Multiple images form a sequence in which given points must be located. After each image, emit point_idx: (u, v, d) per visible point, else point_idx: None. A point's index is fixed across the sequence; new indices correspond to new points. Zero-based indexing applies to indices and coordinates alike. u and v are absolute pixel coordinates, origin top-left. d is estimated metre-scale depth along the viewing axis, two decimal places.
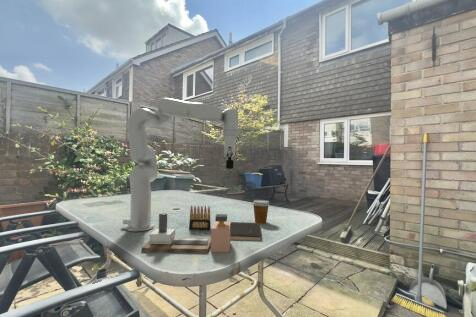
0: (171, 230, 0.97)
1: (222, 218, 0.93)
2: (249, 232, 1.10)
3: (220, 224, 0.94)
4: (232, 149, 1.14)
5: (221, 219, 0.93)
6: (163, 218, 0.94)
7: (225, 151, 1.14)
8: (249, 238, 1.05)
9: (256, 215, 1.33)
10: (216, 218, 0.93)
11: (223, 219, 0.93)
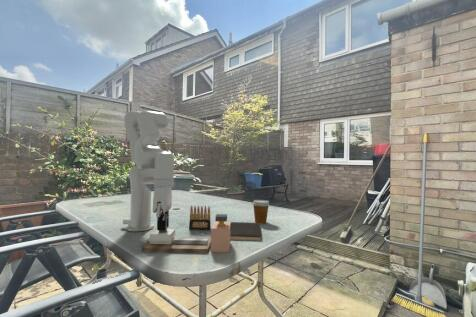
0: (171, 230, 0.97)
1: (222, 218, 0.93)
2: (249, 232, 1.10)
3: (220, 224, 0.94)
4: (162, 205, 0.91)
5: (221, 219, 0.93)
6: None
7: (153, 207, 0.91)
8: (249, 238, 1.05)
9: (256, 215, 1.33)
10: (216, 218, 0.93)
11: (223, 219, 0.93)
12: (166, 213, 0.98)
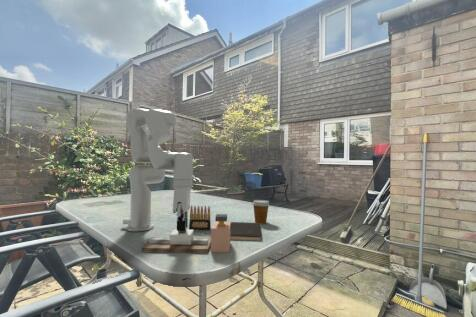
0: (190, 230, 0.97)
1: (222, 218, 0.93)
2: (250, 232, 1.10)
3: (220, 224, 0.94)
4: (182, 205, 0.90)
5: (221, 219, 0.93)
6: None
7: (174, 207, 0.91)
8: (249, 238, 1.05)
9: (256, 215, 1.33)
10: (216, 218, 0.93)
11: (223, 219, 0.93)
12: (185, 213, 0.98)
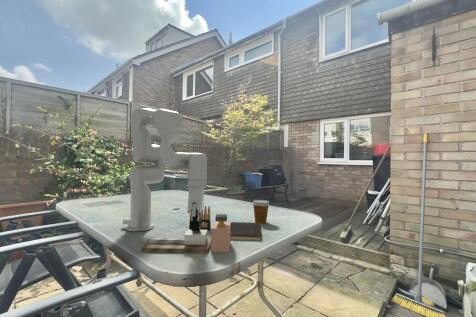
0: (204, 231, 0.97)
1: (222, 218, 0.93)
2: (250, 232, 1.10)
3: (220, 224, 0.94)
4: (197, 205, 0.90)
5: (221, 219, 0.93)
6: None
7: (188, 208, 0.91)
8: (249, 238, 1.05)
9: (256, 215, 1.33)
10: (216, 218, 0.93)
11: (223, 219, 0.93)
12: (198, 214, 0.98)
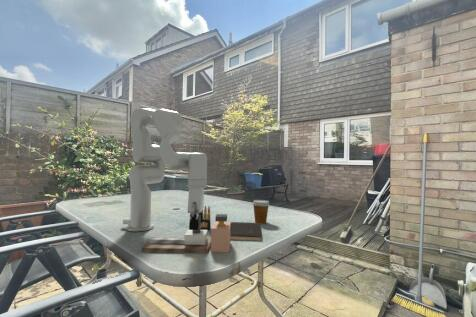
0: (204, 231, 0.97)
1: (222, 218, 0.93)
2: (250, 232, 1.10)
3: (220, 224, 0.94)
4: (197, 205, 0.90)
5: (221, 219, 0.93)
6: None
7: (188, 208, 0.91)
8: (249, 238, 1.05)
9: (256, 215, 1.33)
10: (216, 218, 0.93)
11: (223, 219, 0.93)
12: None
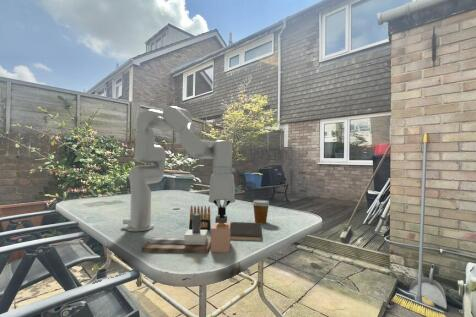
0: (204, 231, 0.97)
1: (222, 219, 0.93)
2: (250, 232, 1.10)
3: (220, 225, 0.94)
4: (209, 191, 0.94)
5: (221, 221, 0.93)
6: (197, 219, 0.94)
7: None
8: (249, 238, 1.05)
9: (256, 215, 1.33)
10: (216, 219, 0.93)
11: (223, 220, 0.93)
12: None
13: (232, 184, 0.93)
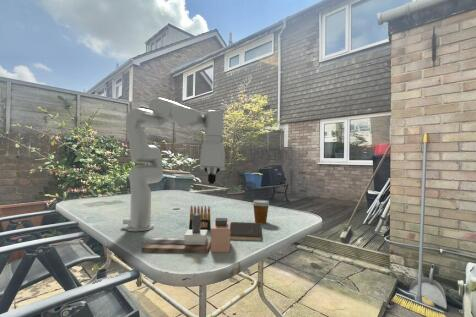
0: (204, 231, 0.97)
1: (222, 222, 0.93)
2: (250, 232, 1.10)
3: None
4: (200, 158, 0.99)
5: (221, 223, 0.93)
6: (197, 219, 0.94)
7: None
8: (249, 238, 1.05)
9: (256, 215, 1.33)
10: (216, 222, 0.93)
11: (223, 223, 0.93)
12: None
13: (222, 152, 0.98)
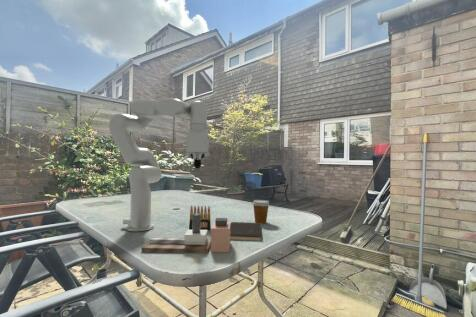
0: (204, 231, 0.97)
1: (222, 222, 0.93)
2: (250, 232, 1.10)
3: None
4: None
5: (221, 223, 0.93)
6: (197, 219, 0.94)
7: None
8: (249, 238, 1.05)
9: (256, 215, 1.33)
10: (216, 222, 0.93)
11: (223, 223, 0.93)
12: None
13: (206, 139, 1.08)
